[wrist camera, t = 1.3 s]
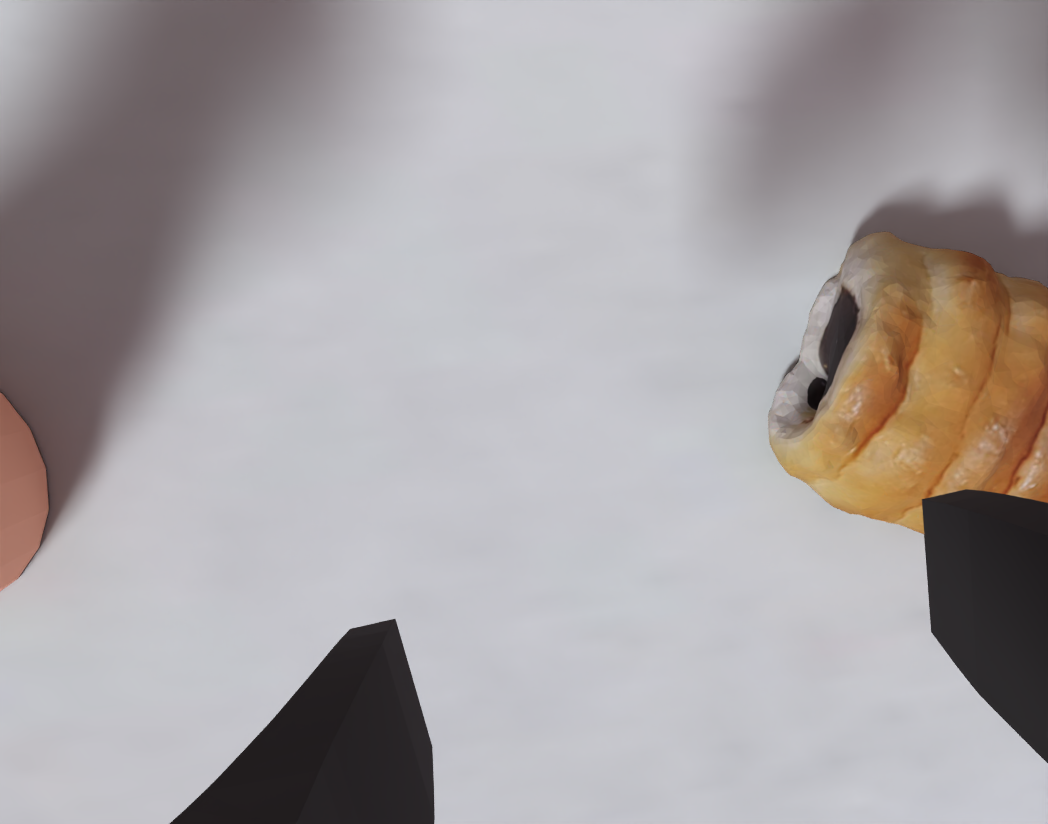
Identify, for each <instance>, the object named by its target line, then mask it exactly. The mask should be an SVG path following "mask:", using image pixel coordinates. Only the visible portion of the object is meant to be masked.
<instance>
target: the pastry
mask: <svg viewBox="0 0 1048 824" xmlns="http://www.w3.org/2000/svg"><path fill="white" fill-rule="evenodd" d="M768 429H769V441H770V445H771V448H772V450H773V451H774V453H775V455H776V457H777V459H778V461H779V463H780V464H781V465H782V467H783V468H784V469H785V470H786V472H787V473H788V474H790V475H791V476H794V477H796V478H799V479H800V480H802V481H803V482H805V483H806V484H808V485H809V486H810V487H811V488H812V489H813V490H814V491H815V492H817V493H818V494H819V495H820V496H821V497H822V498H823V499H824V500H825V501H826V502H828V503H829V504H830V505H831V506H833V507H835V508H837V509H840V510H842V511H845V512H847V513H849V514H859V515H863V516H866V517H869V518H871V519H876V520H881V521H886V522H888V523H894V524H899V525H902V526H904V527H907V528H909V529H912V530H914V531H917V532H920V533H922V534H924V524H923V510H922V499H925V498H930V497H934V496H938V495H943V494H947V493H952V492H956V491H960V490H965V489H969V490H980V491H988V492H995V493H1001V494H1006V495H1012V496H1017V497H1022V498H1027V499H1032V500H1037V501H1042V502H1047V503H1048V288H1047V287H1045V286H1043V285H1042V284H1041V283H1040V282H1039V281H1034V280H1030V279H1025V278H1018V277H1007V276H1005V275H1004V274H1001V273H997V272H994V270H993V268H992V266H991V265H990V264H989V263H988V262H987V261H986V260H985V259H983V258H981V257H979V256H977V255H974V254H972V253H969V252H965V251H958V250H950V249H931V248H927V247H922V246H918V245H914V244H910V243H907V242H904V241H902V240H900V239H899V238H897V237H896V236H894V235H893V234H892V233H890V232H878V233H872V234H869V235H867V236H865V237H863V238H862V239H860V240H858V241H857V242H855V243H853V244H852V245H851V246H850V247H849V249H848V251H847V255H846V258H845V261H844V262H843V263H842V264H841V267H840V271H839V274H838V275H837V276H836V277H834V278H833V279H829V280H828V281H827V282H826V283H825V284H824V286H823V287H822V289H821V291H820V293H819V295H818V297H817V298H816V301H815V303H814V305H813V307H812V309H811V311H810V313H809V321H808V326H807V329H806V332H805V334H804V337H803V341H802V346H801V351H800V358H799V362H798V363H797V364H796V366H795V367H794V368H793V370H792V371H791V372H789V373H788V374H787V375H786V377H785V378H784V379H783V381H782V382H781V384H780V386H779V388H778V389H777V391H776V395H775V398H774V401H773V404H772V407H771V409H770V411H769V414H768Z"/></svg>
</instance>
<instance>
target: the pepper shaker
mask: <svg viewBox="0 0 1048 824" xmlns="http://www.w3.org/2000/svg"><path fill="white" fill-rule="evenodd" d="M48 511H49V504H48V491H47V477H46V468H45V465H44V463H43V460H42V458H41V455H40V453H39V450H38V448H37V445H36V443H35V440H34V438H33V435H32V433H31V430H30V428H29V427H28V426H27V424H26V423H25V422H24V420H23V419H22V418H21V417H20V415H19V414H18V413H17V412H16V410H15V409H14V408H13V407H12V405H11V404H10V403H9V401H8V400H7V399H6V398H5V396H4V395H3V394H2V393H0V591H1V590H3V589H4V588H6V587H7V586H8V585H10V584H11V583H12V582H14V581H15V580H17V579H18V578H19V576H20V575H21V573H22V572H23V570H24V569H25V567H26V566H27V564H28V563H29V561H30V560H31V558H32V557H33V556H34V554H35V553H36V551H37V550H38V548H39V546H40V542H41V538H42V534H43V530H44V526H45V523H46V519H47V515H48Z"/></svg>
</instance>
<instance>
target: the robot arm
mask: <svg viewBox="0 0 1048 824" xmlns="http://www.w3.org/2000/svg"><path fill="white" fill-rule="evenodd" d="M922 510H923V524H924V538H925V552H926V565H927V579H928V593H929V607H930V620H931V632H932V633H933V635H934V636H935V637H936V639H937V640H938V642H939V643H940V644H941V646H942V647H943V648H944V650H945V651H946V652H947V654H948V655H949V656H950V658H951V659H952V661H953V662H954V663H955V665H956V666H957V667H958V668H959V670H960V671H961V672H962V673H963V675H964V676H965V677H966V678H967V680H968V681H969V682H970V684H971V685H972V686H973V687H974V689H975V690H976V691H977V692H978V693H979V694H980V696H981V697H982V698H983V699H984V700H985V701H986V702H987V703H988V704H989V705H990V706H991V707H992V708H993V709H994V710H995V711H996V712H997V713H998V714H999V715H1000V716H1001V717H1002V718H1003V719H1004V720H1005V721H1006V722H1007V723H1008V724H1009V725H1010V726H1011V727H1012V728H1013V729H1014V730H1015V731H1016V732H1017V733H1018V734H1019V735H1020V736H1021V737H1022V738H1023V739H1024V740H1025V741H1026V742H1027V743H1028V744H1029V745H1030V746H1031V747H1032V748H1033V749H1034V750H1035V751H1036V752H1037V753H1038V754H1039V755H1040V756H1041V757H1042V758H1043V759H1044V760H1045V761H1046V762H1047V763H1048V503H1047V502H1042V501H1037V500H1032V499H1027V498H1022V497H1017V496H1012V495H1006V494H1001V493H995V492H988V491H980V490H969V489H965V490H960V491H956V492H952V493H947V494H943V495H938V496H934V497H930V498H925V499H922ZM170 824H434V780H433V755H432V744H431V741H430V737H429V734H428V730H427V727H426V724H425V720H424V717H423V713H422V710H421V706H420V703H419V699H418V696H417V692H416V689H415V685H414V682H413V678H412V675H411V672H410V668H409V665H408V661H407V658H406V654H405V651H404V647H403V644H402V640H401V637H400V633H399V630H398V626H397V623H396V620H395V619H392V620H388V621H383V622H379V623H375V624H370V625H366V626H361V627H357V628H353V629H350V630H349V631H348V632H347V633H346V634H345V635H344V636H343V637H342V638H341V639H340V641H339V642H338V643H337V644H336V645H335V646H334V648H333V649H332V650H331V651H330V652H329V653H328V655H327V656H326V657H325V658H324V659H323V661H322V662H321V663H320V664H319V665H318V667H317V668H316V669H315V670H314V672H313V673H312V674H311V675H310V676H309V678H308V679H307V680H306V681H305V682H304V683H303V685H302V686H301V687H300V688H299V689H298V690H297V692H296V693H295V694H294V695H293V696H292V698H291V699H290V700H289V701H288V702H287V703H286V705H285V706H284V707H283V708H282V709H281V710H280V712H279V713H278V714H277V715H276V716H275V717H274V719H273V720H272V721H271V722H270V723H269V724H268V725H267V726H266V727H265V728H264V730H263V731H262V732H261V733H260V734H259V735H258V736H257V737H256V738H255V739H254V740H253V741H252V742H251V743H250V744H249V746H248V747H247V748H246V749H245V750H244V751H243V752H242V753H241V754H240V755H239V756H238V757H237V758H236V759H235V760H234V762H233V763H232V764H231V765H230V766H229V767H228V768H227V769H226V770H225V771H224V772H223V773H222V774H221V775H220V776H219V777H218V778H217V779H216V780H215V781H214V782H213V783H212V784H211V785H210V786H209V787H208V788H207V789H206V790H205V791H204V792H203V793H202V794H201V795H200V796H199V797H198V798H197V799H196V800H195V801H194V802H193V803H192V804H191V805H190V806H189V807H187V808H186V809H185V810H184V811H183V812H182V813H181V814H180V815H179V816H178V817H176V818H175V819H174V820H173V821H172V822H171V823H170Z"/></svg>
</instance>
